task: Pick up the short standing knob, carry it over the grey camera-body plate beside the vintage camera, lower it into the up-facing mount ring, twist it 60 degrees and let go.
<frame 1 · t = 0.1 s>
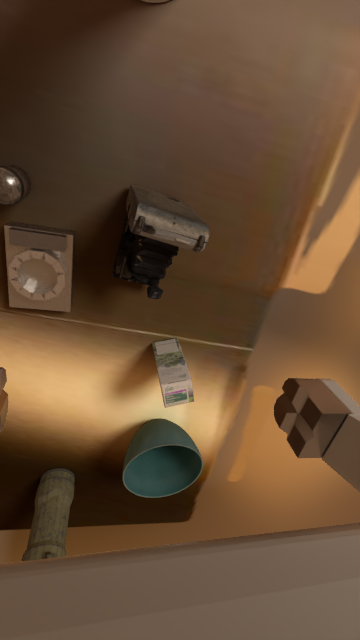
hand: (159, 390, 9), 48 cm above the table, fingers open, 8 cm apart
mount: (43, 266, 53), on the table
vintage camera: (145, 235, 54), on the table
knob: (14, 182, 46), on the table
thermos: (57, 478, 80), on the table
teal bowl: (156, 429, 79), on the table
syrup box: (166, 349, 67), on the table
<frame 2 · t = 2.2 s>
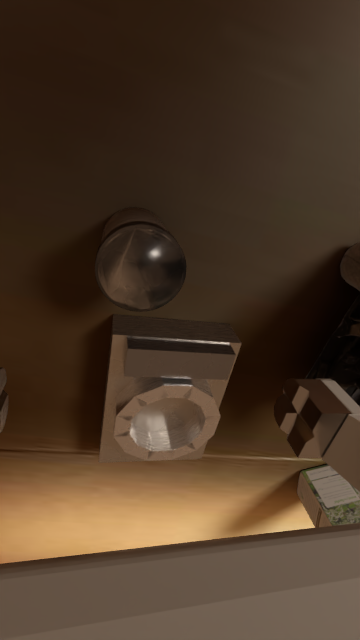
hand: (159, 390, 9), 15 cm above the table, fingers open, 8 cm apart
mount: (160, 383, 28), on the table
vintage camera: (345, 323, 29), on the table
knob: (135, 241, 21), on the table
syrup box: (315, 475, 42), on the table
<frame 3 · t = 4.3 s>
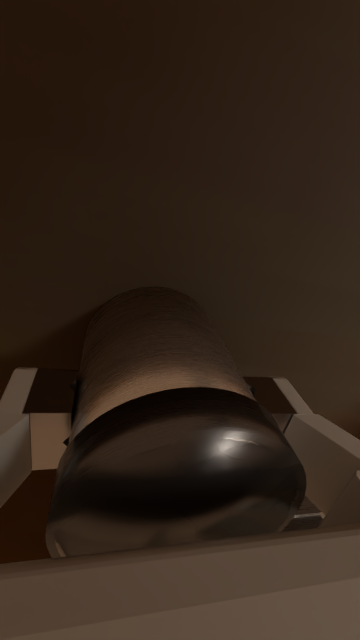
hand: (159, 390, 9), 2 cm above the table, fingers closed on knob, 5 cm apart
mount: (184, 536, 18), on the table
knob: (151, 346, 11), on the table, touching gripper
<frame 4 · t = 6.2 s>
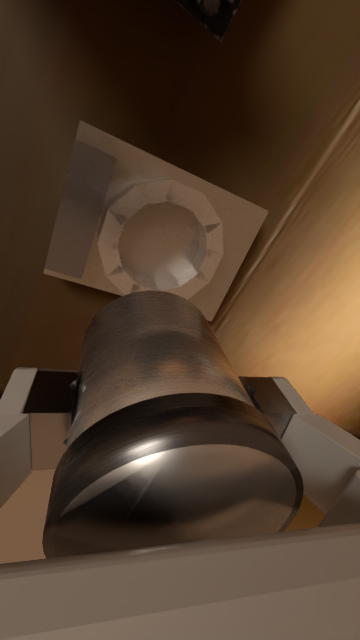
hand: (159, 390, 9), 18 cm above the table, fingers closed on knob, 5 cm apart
mount: (153, 231, 25), on the table
knob: (149, 349, 11), point 16 cm above the table, touching gripper
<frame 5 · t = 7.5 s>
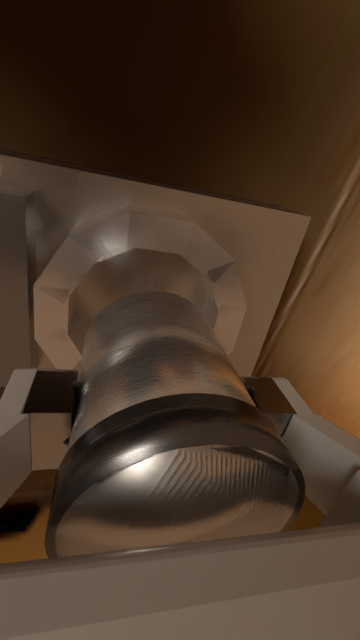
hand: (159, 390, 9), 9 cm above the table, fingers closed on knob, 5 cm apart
mount: (137, 278, 17), on the table
knob: (150, 349, 11), point 7 cm above the table, touching gripper
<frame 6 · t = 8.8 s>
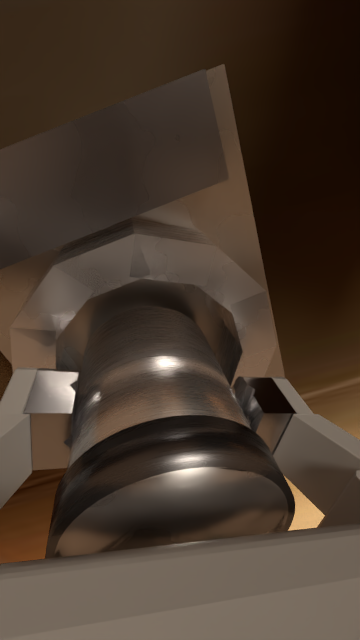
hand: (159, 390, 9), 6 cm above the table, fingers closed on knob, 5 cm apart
mount: (141, 301, 14), on the table
knob: (148, 362, 11), point 4 cm above the table, touching gripper
when the fingers open (6 cm above the table, at t = 8.8 s): knob stays where it is, resting on mount.
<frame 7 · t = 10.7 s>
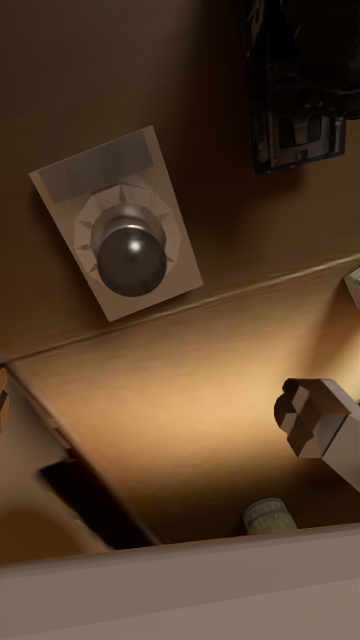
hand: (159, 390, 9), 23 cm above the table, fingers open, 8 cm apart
mount: (126, 229, 29), on the table
vintage camera: (278, 61, 25), on the table
knob: (127, 244, 26), point 3 cm above the table, touching mount
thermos: (262, 510, 59), on the table
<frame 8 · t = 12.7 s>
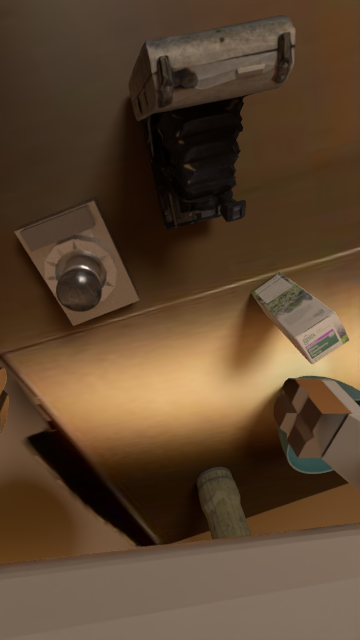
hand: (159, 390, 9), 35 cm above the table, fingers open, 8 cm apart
mount: (84, 261, 41), on the table
vintage camera: (181, 153, 38), on the table
knob: (82, 273, 39), point 3 cm above the table, touching mount
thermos: (213, 478, 72), on the table
teal bowl: (298, 390, 63), on the table
syrup box: (271, 293, 50), on the table
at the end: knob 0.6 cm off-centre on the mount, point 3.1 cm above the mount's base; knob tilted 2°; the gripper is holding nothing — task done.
